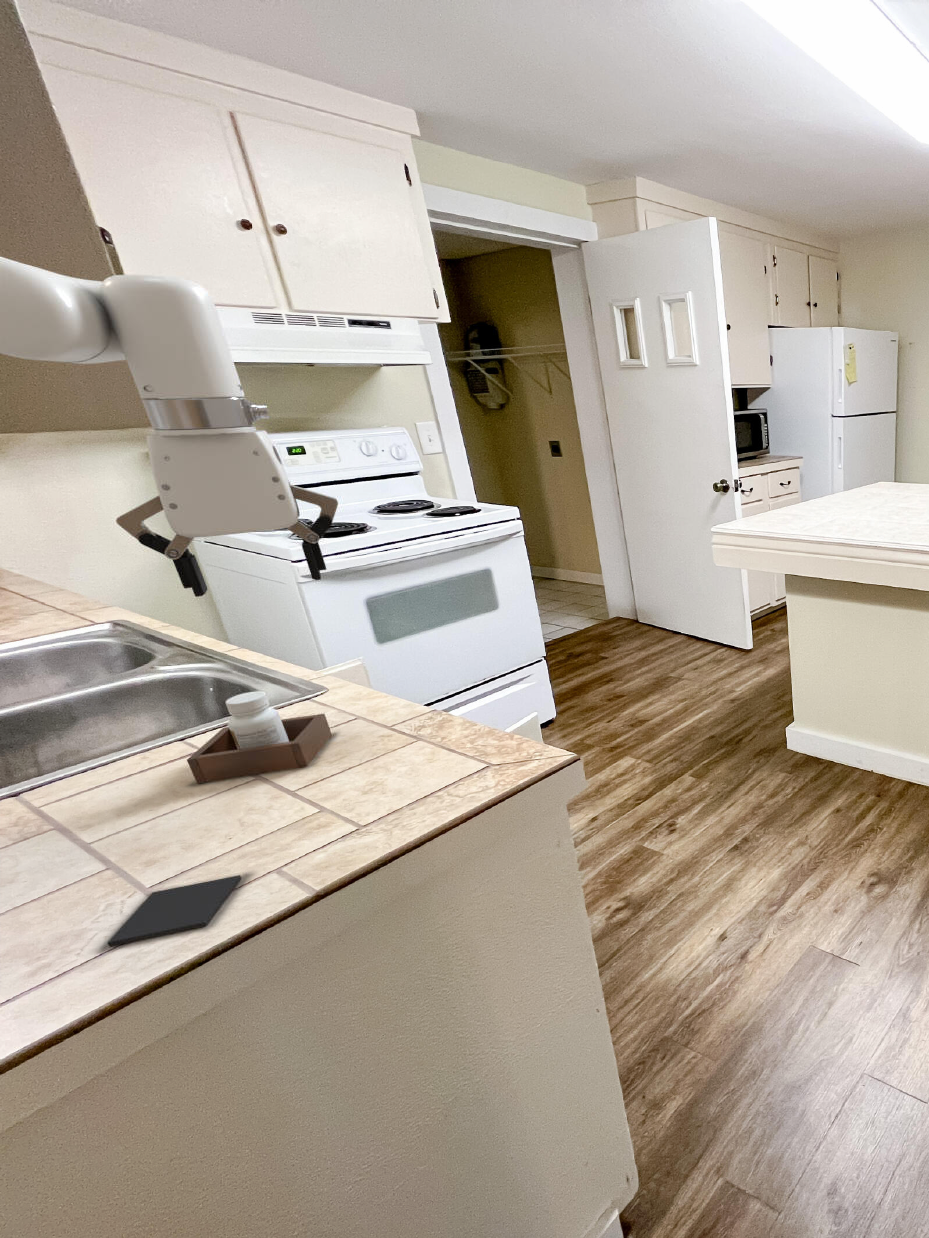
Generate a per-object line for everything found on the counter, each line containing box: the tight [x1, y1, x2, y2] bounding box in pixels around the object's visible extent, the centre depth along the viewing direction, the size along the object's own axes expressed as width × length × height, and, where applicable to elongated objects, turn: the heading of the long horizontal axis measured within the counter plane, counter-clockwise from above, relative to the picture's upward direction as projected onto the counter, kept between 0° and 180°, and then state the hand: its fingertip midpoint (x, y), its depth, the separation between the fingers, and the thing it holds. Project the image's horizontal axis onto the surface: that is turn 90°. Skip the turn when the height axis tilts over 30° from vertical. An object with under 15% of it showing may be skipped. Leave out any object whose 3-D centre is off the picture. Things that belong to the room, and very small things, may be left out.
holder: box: [186, 713, 333, 785], centre depth 79 cm, size 10×8×3 cm
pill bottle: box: [225, 691, 289, 749], centre depth 78 cm, size 4×4×8 cm
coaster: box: [106, 874, 242, 947], centre depth 56 cm, size 6×6×1 cm
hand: (261, 585), depth 74 cm, fingers open, 9 cm apart
